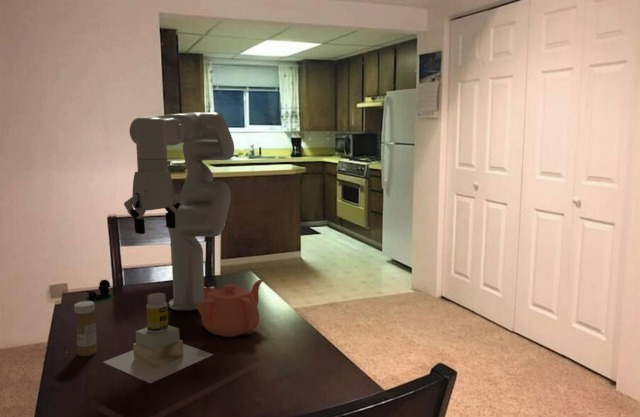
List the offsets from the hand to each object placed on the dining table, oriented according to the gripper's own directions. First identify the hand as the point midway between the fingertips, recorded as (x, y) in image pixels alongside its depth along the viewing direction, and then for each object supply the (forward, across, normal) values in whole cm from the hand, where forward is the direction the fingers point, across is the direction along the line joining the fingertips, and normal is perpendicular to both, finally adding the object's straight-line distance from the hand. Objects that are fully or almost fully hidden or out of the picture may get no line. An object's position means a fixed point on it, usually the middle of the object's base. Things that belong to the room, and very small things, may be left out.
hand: (155, 230), depth 139 cm
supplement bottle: (+20, +12, +15) cm, 28 cm away
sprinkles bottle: (+28, +20, -2) cm, 35 cm away
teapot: (+28, -12, +15) cm, 34 cm away
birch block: (+27, +12, +15) cm, 33 cm away
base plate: (+28, +12, +15) cm, 34 cm away
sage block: (+23, +12, +15) cm, 30 cm away
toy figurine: (+29, -7, -42) cm, 51 cm away
